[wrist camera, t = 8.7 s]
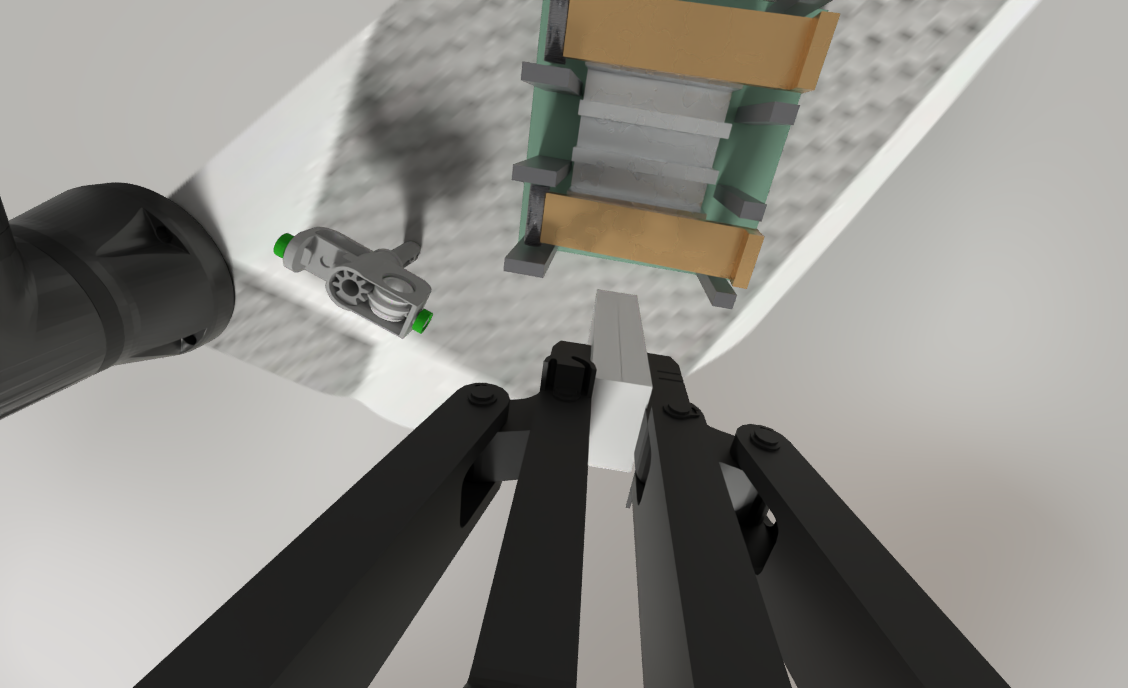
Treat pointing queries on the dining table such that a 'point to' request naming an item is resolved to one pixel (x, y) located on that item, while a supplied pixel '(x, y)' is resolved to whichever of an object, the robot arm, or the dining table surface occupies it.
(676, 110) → the heatsink
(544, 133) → the socket board
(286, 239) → the mechanical component
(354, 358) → the dining table surface
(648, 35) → the strap
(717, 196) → the set of grey pegs
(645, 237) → the strap
